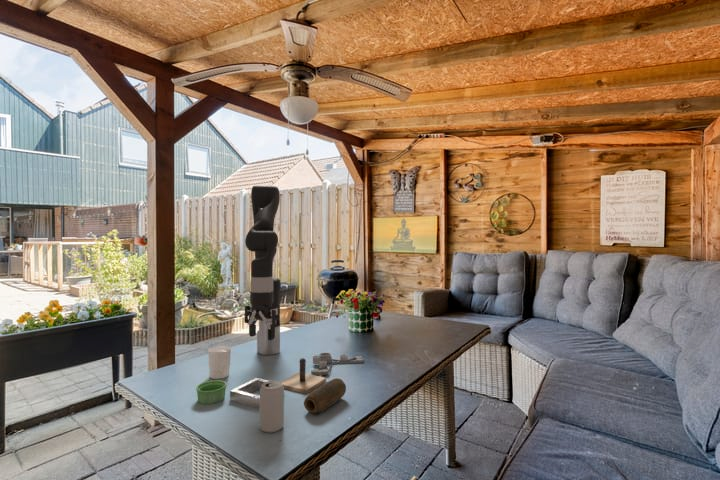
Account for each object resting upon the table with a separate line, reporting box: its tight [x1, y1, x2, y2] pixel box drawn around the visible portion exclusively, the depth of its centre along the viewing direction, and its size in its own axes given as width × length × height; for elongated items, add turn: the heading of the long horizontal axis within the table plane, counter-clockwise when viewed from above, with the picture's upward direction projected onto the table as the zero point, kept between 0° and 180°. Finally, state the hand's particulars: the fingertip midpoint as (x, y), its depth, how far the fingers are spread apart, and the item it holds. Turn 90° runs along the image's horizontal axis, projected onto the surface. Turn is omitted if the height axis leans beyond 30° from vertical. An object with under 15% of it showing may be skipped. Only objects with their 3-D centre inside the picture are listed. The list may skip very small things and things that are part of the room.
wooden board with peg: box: [281, 357, 327, 395], centre depth 130 cm, size 12×12×9 cm
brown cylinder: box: [303, 378, 347, 414], centre depth 113 cm, size 15×7×7 cm, turn 151°
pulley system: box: [310, 352, 364, 376], centre depth 149 cm, size 27×5×15 cm
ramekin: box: [195, 379, 227, 405], centre depth 118 cm, size 9×9×4 cm
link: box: [229, 377, 284, 409], centre depth 119 cm, size 12×12×3 cm
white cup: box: [207, 345, 232, 380], centre depth 137 cm, size 8×8×10 cm
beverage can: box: [259, 380, 285, 434], centre depth 100 cm, size 6×6×12 cm
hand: (261, 337), depth 124 cm, fingers open, 8 cm apart
